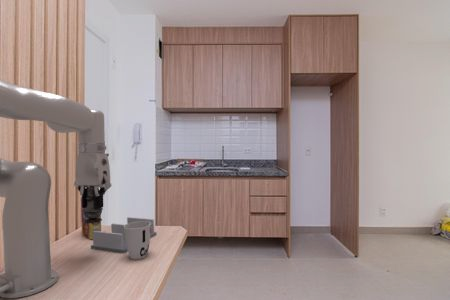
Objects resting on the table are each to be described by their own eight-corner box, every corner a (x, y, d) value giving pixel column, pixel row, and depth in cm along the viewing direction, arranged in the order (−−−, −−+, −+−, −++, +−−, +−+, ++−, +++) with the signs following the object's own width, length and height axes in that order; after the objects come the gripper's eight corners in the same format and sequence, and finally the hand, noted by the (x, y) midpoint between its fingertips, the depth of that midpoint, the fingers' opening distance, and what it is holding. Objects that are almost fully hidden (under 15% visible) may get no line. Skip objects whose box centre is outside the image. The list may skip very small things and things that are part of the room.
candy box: (102, 236, 105) (101, 197, 105) (91, 240, 102) (89, 199, 101) (92, 232, 111) (91, 195, 111) (81, 235, 108) (79, 196, 107)
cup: (143, 262, 82) (142, 229, 81) (119, 260, 83) (118, 228, 83) (156, 251, 89) (155, 221, 89) (133, 250, 91) (132, 220, 91)
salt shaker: (81, 224, 82) (81, 184, 82) (83, 219, 87) (82, 182, 87) (103, 222, 84) (102, 183, 84) (103, 217, 90) (102, 181, 90)
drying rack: (124, 253, 89) (123, 235, 89) (91, 248, 93) (90, 231, 93) (156, 234, 106) (156, 219, 106) (126, 231, 111) (126, 217, 111)
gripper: (121, 149, 86) (122, 206, 86) (81, 149, 92) (82, 203, 92) (104, 149, 79) (105, 212, 79) (61, 150, 85) (62, 208, 85)
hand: (92, 207), depth 86 cm, fingers closed on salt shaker, 4 cm apart
